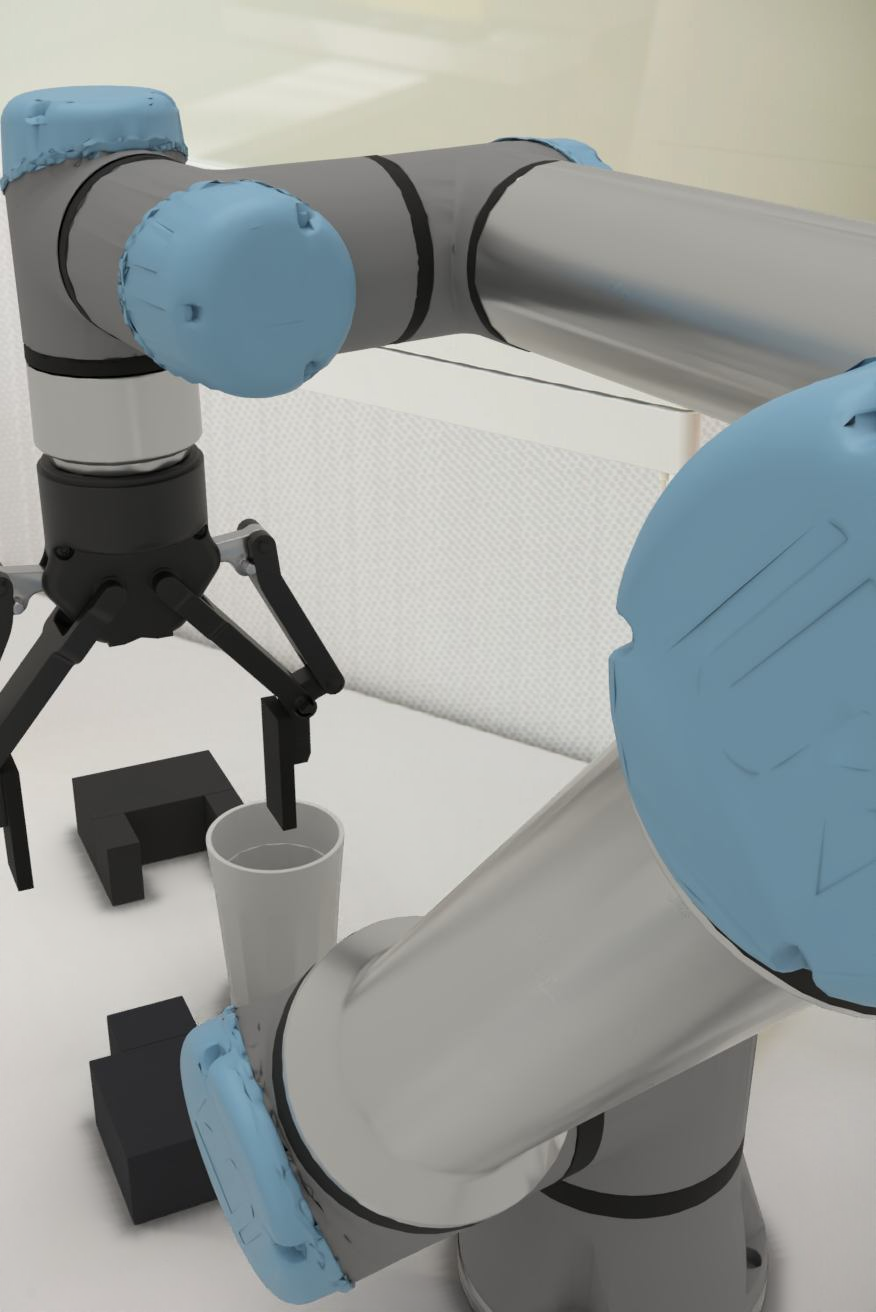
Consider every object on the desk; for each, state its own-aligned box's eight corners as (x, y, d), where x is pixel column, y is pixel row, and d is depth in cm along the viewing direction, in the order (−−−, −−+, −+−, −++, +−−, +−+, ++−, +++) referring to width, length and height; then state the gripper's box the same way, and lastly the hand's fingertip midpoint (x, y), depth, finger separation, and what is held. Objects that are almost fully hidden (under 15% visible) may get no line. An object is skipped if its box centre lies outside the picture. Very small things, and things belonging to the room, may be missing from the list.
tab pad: (282, 1178, 86) (279, 1112, 84) (134, 1225, 83) (127, 1158, 81) (217, 1048, 95) (212, 986, 93) (81, 1086, 92) (74, 1023, 90)
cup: (329, 1051, 95) (324, 880, 90) (199, 1033, 96) (186, 863, 91) (362, 969, 102) (359, 806, 97) (240, 953, 103) (230, 791, 98)
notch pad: (255, 872, 112) (252, 816, 110) (112, 906, 108) (106, 849, 106) (212, 802, 120) (208, 749, 118) (77, 832, 116) (71, 777, 114)
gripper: (346, 393, 81) (356, 763, 91) (-178, 460, 72) (-108, 863, 82) (405, 436, 75) (408, 828, 84) (-161, 515, 66) (-87, 944, 75)
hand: (155, 846), depth 83 cm, fingers open, 13 cm apart
